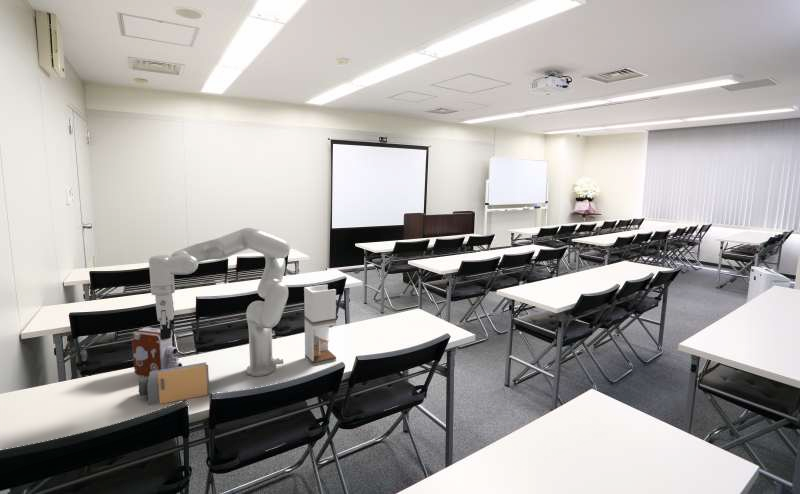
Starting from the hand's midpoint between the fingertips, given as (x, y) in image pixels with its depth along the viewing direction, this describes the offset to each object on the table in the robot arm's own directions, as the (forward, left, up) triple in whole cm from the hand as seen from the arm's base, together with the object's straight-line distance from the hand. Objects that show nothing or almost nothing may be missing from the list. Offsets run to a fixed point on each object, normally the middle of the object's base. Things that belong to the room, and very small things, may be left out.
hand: (166, 336), depth 149 cm
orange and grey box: (-2, -4, -25) cm, 26 cm away
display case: (-62, -10, -25) cm, 68 cm away
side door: (-5, +3, -25) cm, 26 cm away
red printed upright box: (+5, -24, -25) cm, 36 cm away
